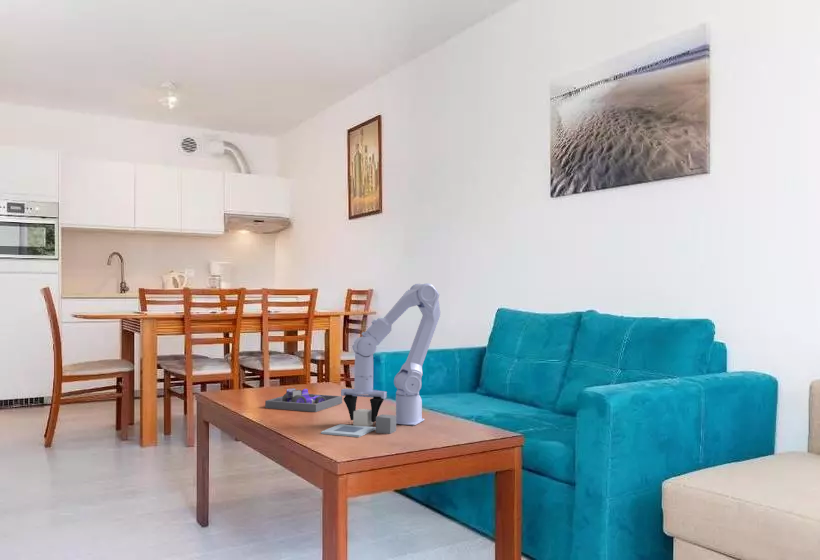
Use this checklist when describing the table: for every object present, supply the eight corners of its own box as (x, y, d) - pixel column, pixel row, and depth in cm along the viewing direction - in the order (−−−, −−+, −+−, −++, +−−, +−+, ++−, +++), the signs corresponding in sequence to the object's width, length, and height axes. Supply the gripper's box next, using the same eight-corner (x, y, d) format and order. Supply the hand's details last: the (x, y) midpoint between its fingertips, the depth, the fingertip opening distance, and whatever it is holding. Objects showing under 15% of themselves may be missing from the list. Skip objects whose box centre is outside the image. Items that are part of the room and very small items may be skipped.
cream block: (359, 423, 204) (359, 408, 204) (373, 424, 202) (373, 409, 203) (353, 426, 200) (353, 411, 200) (367, 427, 198) (367, 412, 198)
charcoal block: (381, 429, 195) (382, 414, 195) (396, 431, 193) (396, 415, 193) (375, 432, 191) (375, 417, 191) (390, 434, 189) (390, 418, 189)
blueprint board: (339, 426, 199) (339, 423, 199) (376, 429, 195) (376, 426, 195) (321, 433, 188) (321, 431, 188) (359, 437, 184) (359, 434, 184)
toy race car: (331, 406, 237) (332, 388, 237) (294, 410, 228) (294, 391, 228) (318, 402, 244) (319, 385, 244) (281, 406, 235) (282, 388, 235)
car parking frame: (294, 399, 248) (294, 392, 248) (342, 403, 241) (342, 396, 241) (265, 407, 230) (265, 400, 230) (315, 412, 223) (316, 404, 223)
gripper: (336, 376, 200) (336, 420, 200) (380, 378, 195) (380, 424, 195) (346, 373, 207) (346, 417, 206) (389, 376, 202) (389, 420, 201)
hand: (363, 420), depth 201 cm, fingers open, 6 cm apart
